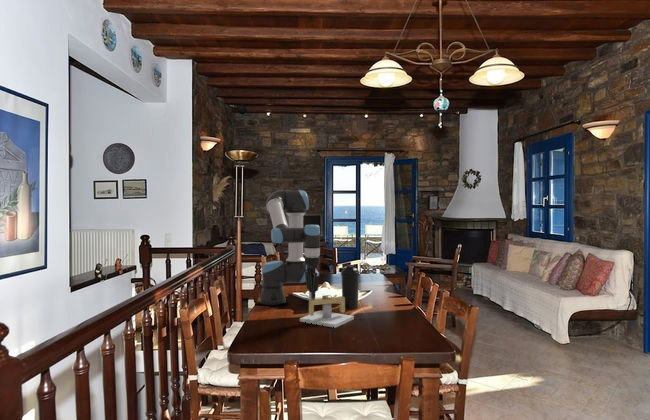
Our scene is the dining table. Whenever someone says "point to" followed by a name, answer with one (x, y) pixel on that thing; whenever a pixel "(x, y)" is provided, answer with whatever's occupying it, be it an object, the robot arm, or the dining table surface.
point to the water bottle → (350, 286)
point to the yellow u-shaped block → (326, 302)
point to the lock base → (328, 321)
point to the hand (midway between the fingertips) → (312, 304)
